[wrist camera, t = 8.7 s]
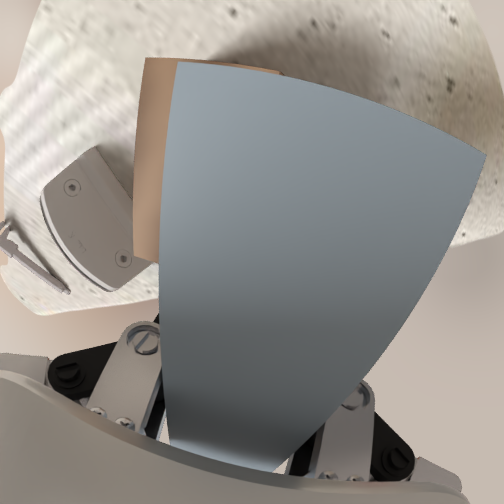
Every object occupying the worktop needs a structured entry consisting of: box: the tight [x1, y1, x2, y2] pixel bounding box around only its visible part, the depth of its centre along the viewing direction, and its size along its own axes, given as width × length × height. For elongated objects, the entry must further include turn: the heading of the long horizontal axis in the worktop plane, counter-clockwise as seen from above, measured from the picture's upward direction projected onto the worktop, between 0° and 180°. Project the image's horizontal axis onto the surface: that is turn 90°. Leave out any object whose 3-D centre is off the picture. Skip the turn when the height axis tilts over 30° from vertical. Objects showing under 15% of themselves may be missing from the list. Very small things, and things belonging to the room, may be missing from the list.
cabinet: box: [133, 58, 285, 264], centre depth 23 cm, size 14×16×10 cm
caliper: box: [0, 221, 70, 295], centre depth 40 cm, size 20×1×6 cm, turn 49°
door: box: [159, 62, 487, 472], centre depth 12 cm, size 4×14×15 cm, turn 169°
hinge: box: [40, 147, 154, 292], centre depth 31 cm, size 17×5×10 cm, turn 33°
